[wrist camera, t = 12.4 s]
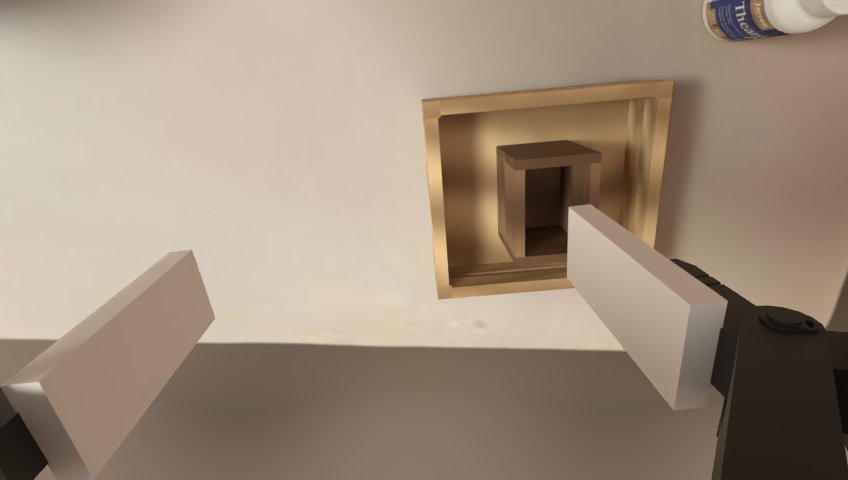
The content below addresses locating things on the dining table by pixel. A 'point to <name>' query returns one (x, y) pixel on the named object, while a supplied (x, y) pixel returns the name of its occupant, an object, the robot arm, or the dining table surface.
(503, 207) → the walnut crate
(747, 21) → the pill bottle
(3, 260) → the dining table surface
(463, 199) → the oak crate
